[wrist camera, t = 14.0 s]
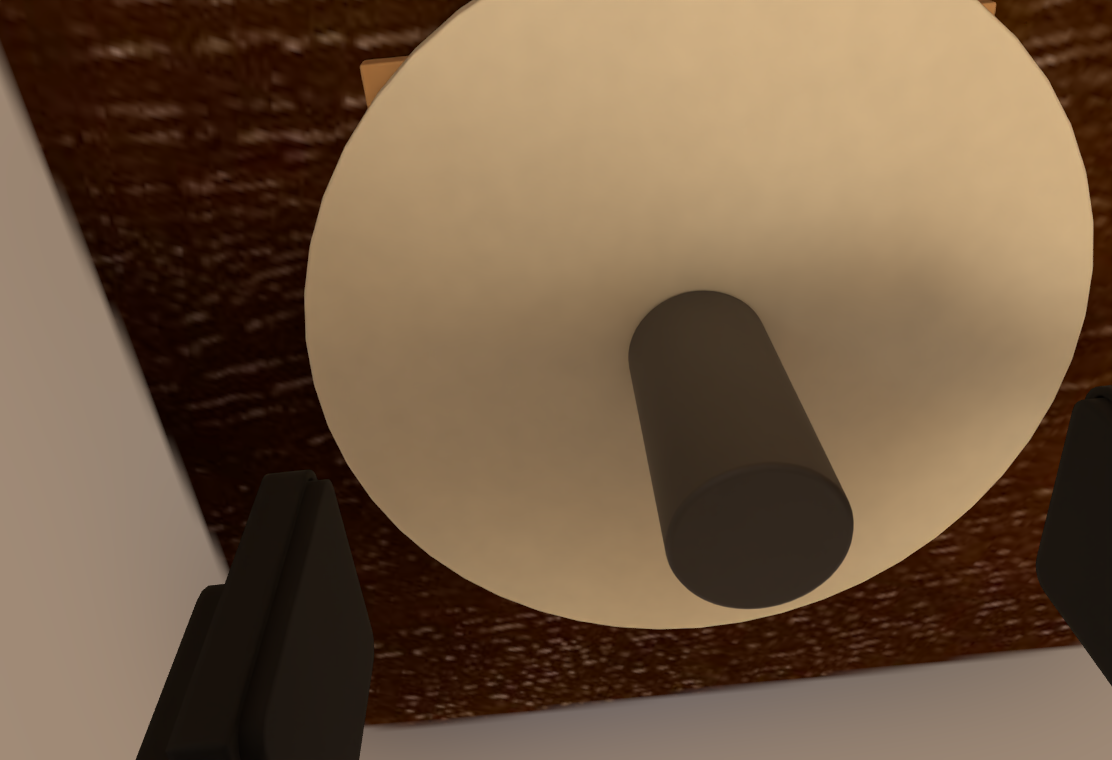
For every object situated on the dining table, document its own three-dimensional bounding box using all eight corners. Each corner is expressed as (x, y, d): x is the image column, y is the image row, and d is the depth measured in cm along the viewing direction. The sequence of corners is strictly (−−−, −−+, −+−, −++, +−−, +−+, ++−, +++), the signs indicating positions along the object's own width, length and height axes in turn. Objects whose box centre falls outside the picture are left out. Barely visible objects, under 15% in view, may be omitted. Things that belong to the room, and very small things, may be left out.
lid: (390, 614, 21) (344, 889, 15) (228, -40, 14) (38, 42, 8) (995, 562, 20) (1164, 823, 15) (1138, -133, 13) (1544, -109, 8)
